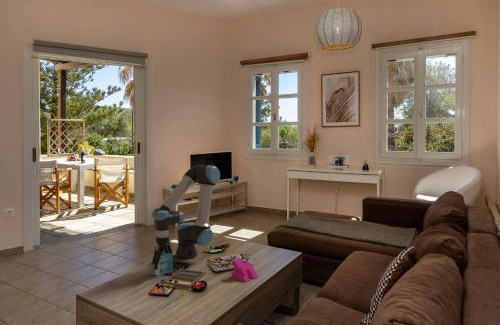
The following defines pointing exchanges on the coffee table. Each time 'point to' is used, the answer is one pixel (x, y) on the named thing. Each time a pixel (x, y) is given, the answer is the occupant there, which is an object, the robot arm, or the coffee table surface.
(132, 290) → the coffee table surface
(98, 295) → the coffee table surface
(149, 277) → the coffee table surface
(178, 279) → the slot board
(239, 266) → the pink plastic figure
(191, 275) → the rubber bar
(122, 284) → the coffee table surface
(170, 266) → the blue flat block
